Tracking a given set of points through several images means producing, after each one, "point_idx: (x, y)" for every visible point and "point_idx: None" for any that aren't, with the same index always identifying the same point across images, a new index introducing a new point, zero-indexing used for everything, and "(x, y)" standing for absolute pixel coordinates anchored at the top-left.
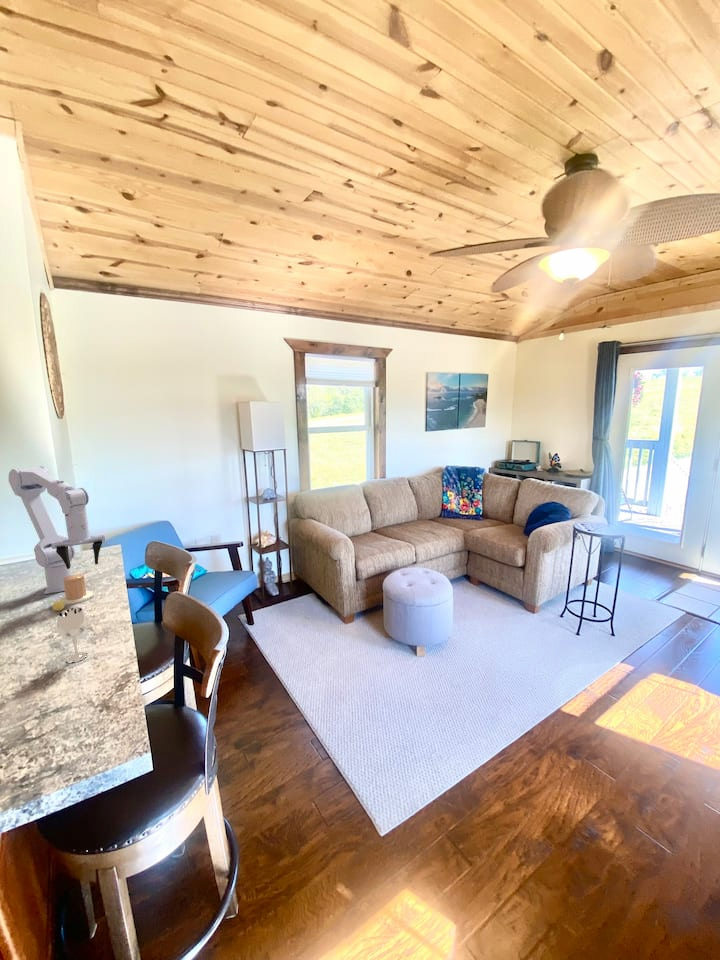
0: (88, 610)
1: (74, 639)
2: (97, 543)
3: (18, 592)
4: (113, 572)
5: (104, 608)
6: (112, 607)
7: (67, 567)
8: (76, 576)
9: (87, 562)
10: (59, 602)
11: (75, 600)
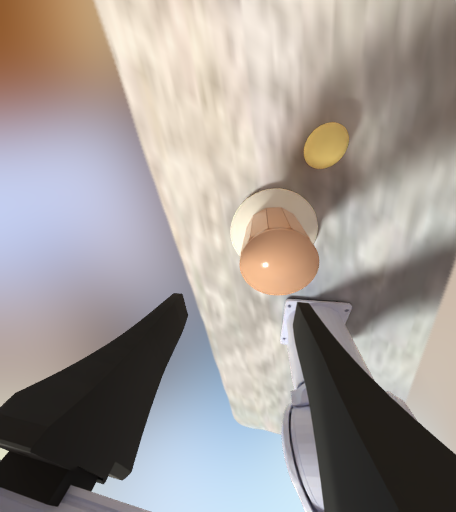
0: (222, 87)
1: None
2: (30, 456)
3: (401, 345)
4: (214, 341)
5: (171, 79)
6: (145, 75)
7: (309, 307)
8: (267, 271)
9: (267, 399)
10: (325, 135)
11: (271, 197)
